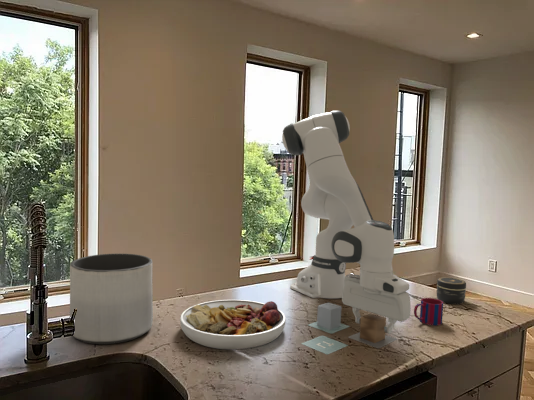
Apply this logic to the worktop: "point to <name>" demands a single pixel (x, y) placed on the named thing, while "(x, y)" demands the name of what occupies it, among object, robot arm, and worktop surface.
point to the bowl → (233, 323)
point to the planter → (111, 297)
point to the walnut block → (372, 327)
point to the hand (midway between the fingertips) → (373, 327)
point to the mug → (430, 311)
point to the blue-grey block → (329, 316)
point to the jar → (451, 290)
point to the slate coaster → (376, 345)
